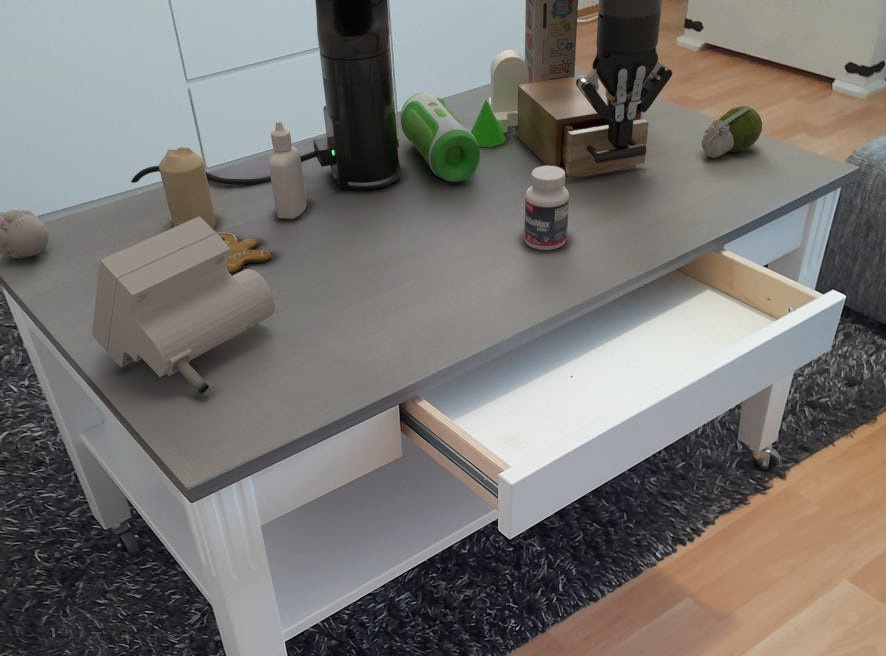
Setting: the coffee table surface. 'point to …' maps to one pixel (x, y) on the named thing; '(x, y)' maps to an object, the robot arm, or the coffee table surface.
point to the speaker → (440, 137)
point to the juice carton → (550, 39)
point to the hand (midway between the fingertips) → (618, 145)
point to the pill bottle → (546, 209)
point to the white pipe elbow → (175, 300)
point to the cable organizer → (507, 86)
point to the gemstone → (487, 128)
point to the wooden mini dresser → (552, 114)
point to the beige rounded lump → (22, 234)
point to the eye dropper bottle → (286, 175)
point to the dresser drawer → (599, 147)
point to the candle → (186, 187)
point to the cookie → (242, 252)
